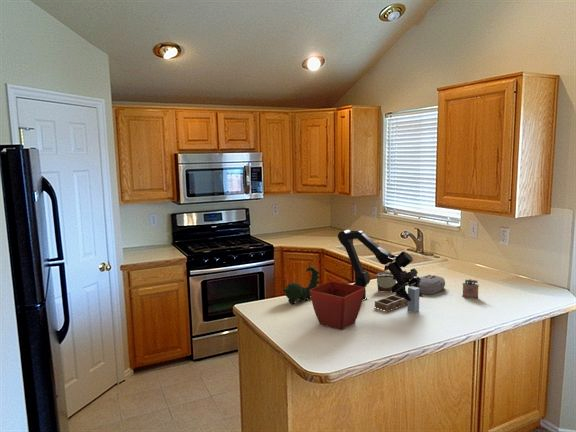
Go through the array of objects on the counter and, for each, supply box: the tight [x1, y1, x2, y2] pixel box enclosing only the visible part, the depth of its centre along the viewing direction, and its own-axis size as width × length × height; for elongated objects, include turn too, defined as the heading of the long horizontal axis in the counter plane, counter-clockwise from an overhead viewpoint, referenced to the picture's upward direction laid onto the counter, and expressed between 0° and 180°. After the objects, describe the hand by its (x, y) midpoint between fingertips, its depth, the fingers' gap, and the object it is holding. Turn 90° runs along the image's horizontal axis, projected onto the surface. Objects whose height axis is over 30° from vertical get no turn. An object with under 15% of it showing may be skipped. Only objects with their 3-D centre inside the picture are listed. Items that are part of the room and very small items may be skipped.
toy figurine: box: [282, 266, 320, 304], centre depth 228 cm, size 9×19×25 cm
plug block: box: [407, 286, 420, 314], centre depth 209 cm, size 4×4×12 cm
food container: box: [375, 271, 397, 291], centre depth 243 cm, size 12×6×10 cm, turn 84°
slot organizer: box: [374, 293, 408, 312], centre depth 219 cm, size 21×8×4 cm, turn 130°
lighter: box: [461, 278, 480, 300], centre depth 228 cm, size 8×3×10 cm, turn 62°
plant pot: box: [310, 280, 366, 330], centre depth 196 cm, size 19×19×17 cm
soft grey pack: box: [419, 274, 446, 295], centre depth 242 cm, size 15×8×20 cm
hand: (415, 298), depth 208 cm, fingers open, 9 cm apart
